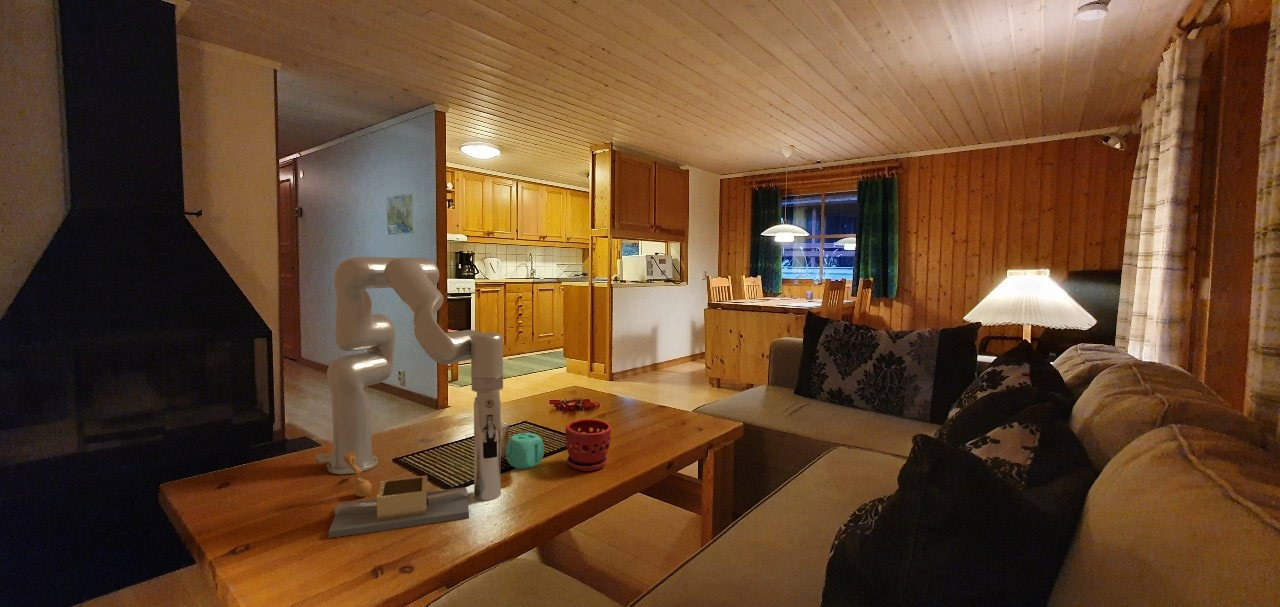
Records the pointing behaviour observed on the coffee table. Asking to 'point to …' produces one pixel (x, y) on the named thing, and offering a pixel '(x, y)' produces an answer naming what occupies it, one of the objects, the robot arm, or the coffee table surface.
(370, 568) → the coffee table surface
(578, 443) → the plant pot
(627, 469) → the coffee table surface
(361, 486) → the figurine
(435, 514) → the base plate
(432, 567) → the coffee table surface
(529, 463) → the decorative dice
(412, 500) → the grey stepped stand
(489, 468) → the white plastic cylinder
